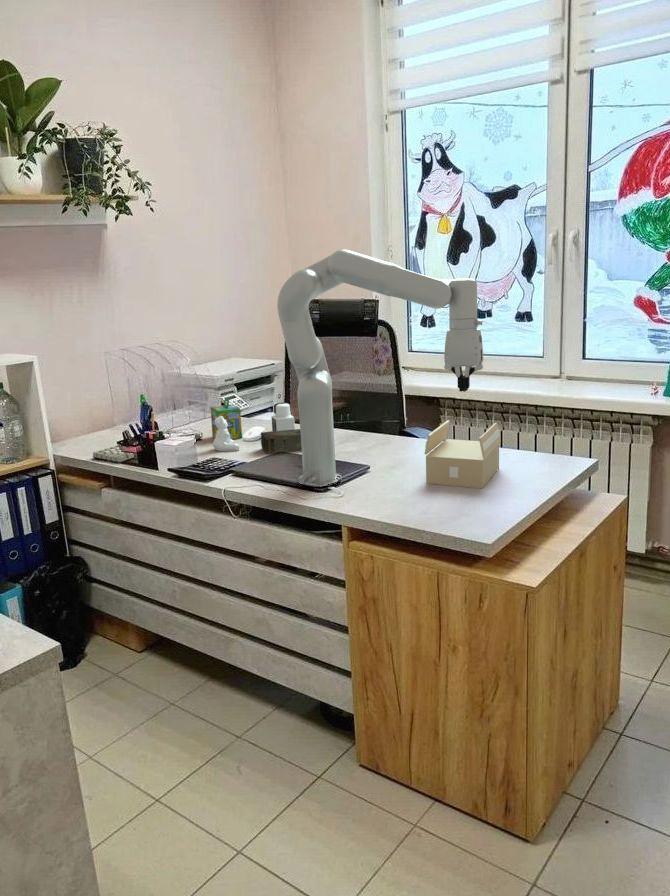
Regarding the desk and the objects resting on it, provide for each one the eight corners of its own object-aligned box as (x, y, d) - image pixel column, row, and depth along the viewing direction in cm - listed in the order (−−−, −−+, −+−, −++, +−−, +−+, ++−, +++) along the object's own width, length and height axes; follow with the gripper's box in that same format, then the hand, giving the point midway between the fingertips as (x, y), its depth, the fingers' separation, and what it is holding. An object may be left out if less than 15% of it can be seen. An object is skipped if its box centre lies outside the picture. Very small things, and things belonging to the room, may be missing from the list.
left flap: (446, 438, 219) (443, 437, 219) (449, 420, 217) (447, 420, 217) (426, 454, 202) (423, 453, 202) (430, 435, 200) (427, 434, 200)
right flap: (483, 458, 195) (485, 458, 195) (478, 438, 195) (481, 437, 194) (498, 441, 212) (501, 441, 212) (494, 423, 211) (497, 422, 211)
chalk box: (212, 437, 272) (208, 398, 268) (235, 433, 275) (232, 395, 272) (219, 442, 264) (215, 402, 260) (243, 438, 267) (239, 399, 264)
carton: (482, 488, 197) (482, 460, 195) (426, 483, 204) (425, 456, 202) (499, 468, 215) (499, 442, 213) (446, 464, 221) (446, 439, 219)
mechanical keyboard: (126, 467, 238) (124, 457, 238) (88, 461, 249) (87, 451, 248) (205, 441, 269) (204, 432, 268) (168, 437, 279) (167, 428, 278)
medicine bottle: (272, 434, 272) (270, 402, 269) (290, 431, 274) (288, 400, 271) (276, 438, 265) (274, 406, 262) (295, 435, 267) (293, 404, 264)
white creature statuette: (241, 450, 250) (238, 416, 247) (216, 454, 247) (213, 419, 244) (234, 444, 258) (231, 412, 255) (210, 448, 255) (207, 414, 252)
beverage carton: (319, 449, 248) (318, 430, 246) (264, 455, 243) (262, 436, 241) (314, 443, 255) (313, 425, 253) (260, 449, 251) (259, 431, 249)
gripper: (493, 323, 198) (493, 389, 203) (440, 323, 205) (441, 387, 209) (487, 325, 192) (486, 394, 196) (432, 326, 198) (433, 392, 203)
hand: (463, 390), depth 203 cm, fingers closed
